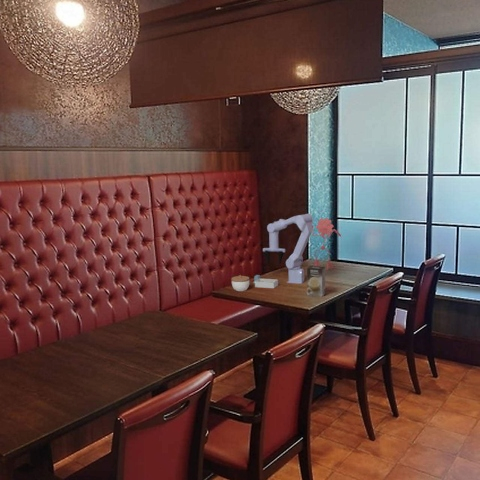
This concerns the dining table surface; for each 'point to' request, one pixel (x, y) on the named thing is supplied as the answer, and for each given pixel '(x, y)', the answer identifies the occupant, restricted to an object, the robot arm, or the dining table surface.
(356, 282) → the dining table surface
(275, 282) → the tub
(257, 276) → the lid
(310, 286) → the coffee box
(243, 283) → the lidded jar
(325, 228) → the red flower sprig
